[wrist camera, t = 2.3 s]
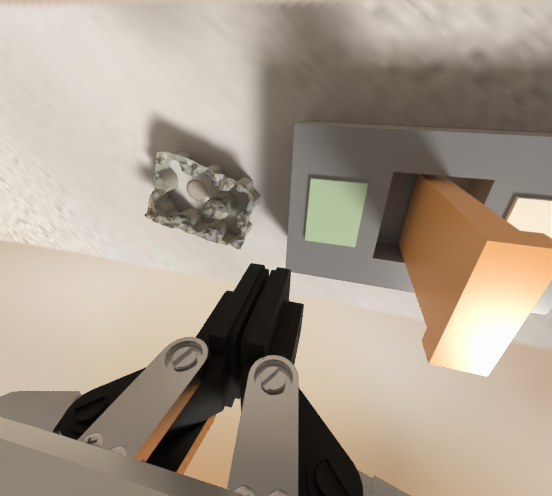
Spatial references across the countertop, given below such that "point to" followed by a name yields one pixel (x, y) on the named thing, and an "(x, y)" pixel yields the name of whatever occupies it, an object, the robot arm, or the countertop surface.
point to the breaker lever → (469, 274)
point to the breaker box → (403, 192)
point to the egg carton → (216, 207)
